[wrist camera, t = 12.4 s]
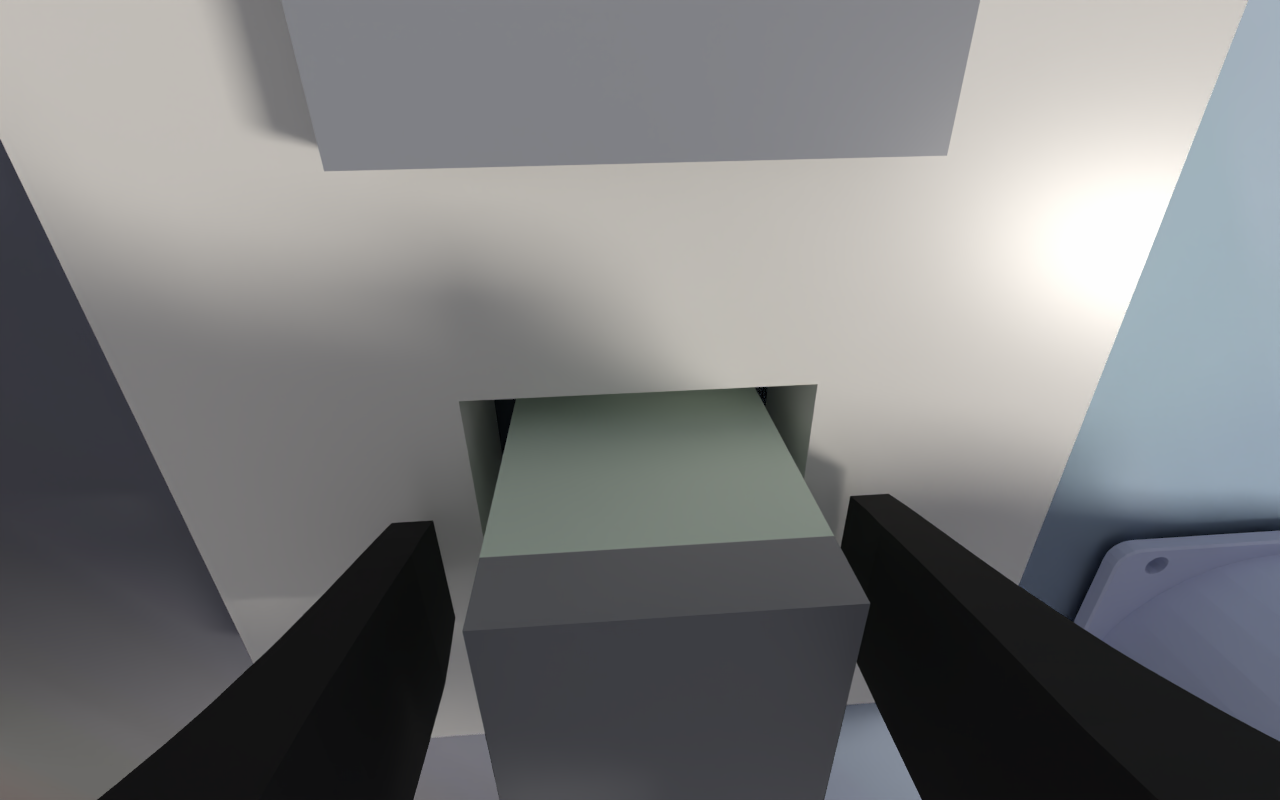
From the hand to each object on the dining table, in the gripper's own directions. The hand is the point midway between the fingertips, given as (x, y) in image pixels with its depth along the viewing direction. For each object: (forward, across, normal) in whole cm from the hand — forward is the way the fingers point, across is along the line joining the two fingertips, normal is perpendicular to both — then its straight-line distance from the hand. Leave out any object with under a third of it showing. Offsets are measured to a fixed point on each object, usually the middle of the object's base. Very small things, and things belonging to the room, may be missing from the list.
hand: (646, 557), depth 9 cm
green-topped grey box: (+3, 0, 0) cm, 3 cm away
